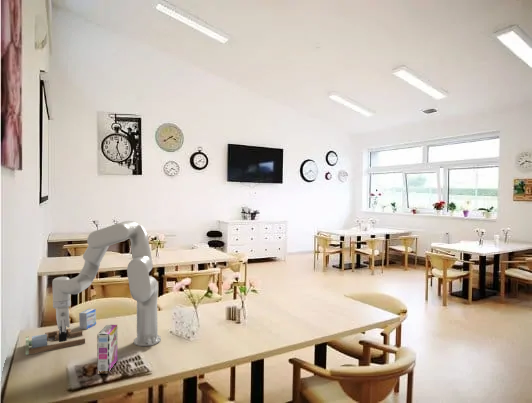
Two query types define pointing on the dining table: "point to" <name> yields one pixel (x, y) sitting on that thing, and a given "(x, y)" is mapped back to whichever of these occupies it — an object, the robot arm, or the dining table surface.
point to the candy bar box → (107, 348)
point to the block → (39, 341)
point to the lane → (55, 336)
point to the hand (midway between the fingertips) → (62, 340)
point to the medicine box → (87, 318)
